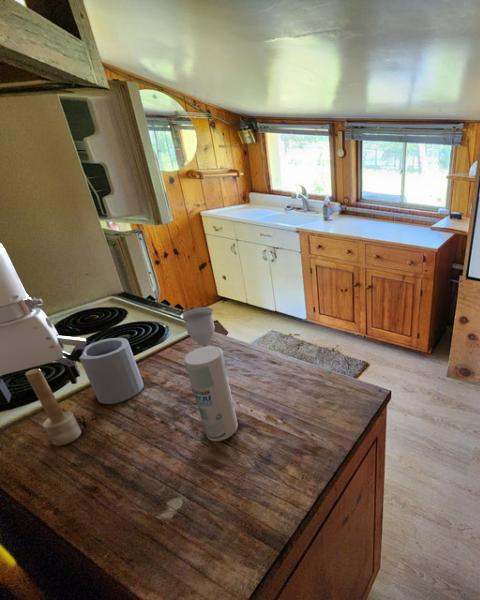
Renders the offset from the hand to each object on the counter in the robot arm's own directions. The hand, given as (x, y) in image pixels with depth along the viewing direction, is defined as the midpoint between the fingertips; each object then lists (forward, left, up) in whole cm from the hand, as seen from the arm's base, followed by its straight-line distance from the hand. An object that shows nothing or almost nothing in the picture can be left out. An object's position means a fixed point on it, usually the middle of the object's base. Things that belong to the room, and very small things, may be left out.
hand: (42, 389), depth 63 cm
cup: (+3, +14, -13) cm, 19 cm away
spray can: (+31, -3, -13) cm, 34 cm away
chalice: (+22, +20, -13) cm, 32 cm away
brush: (0, 0, -13) cm, 13 cm away
